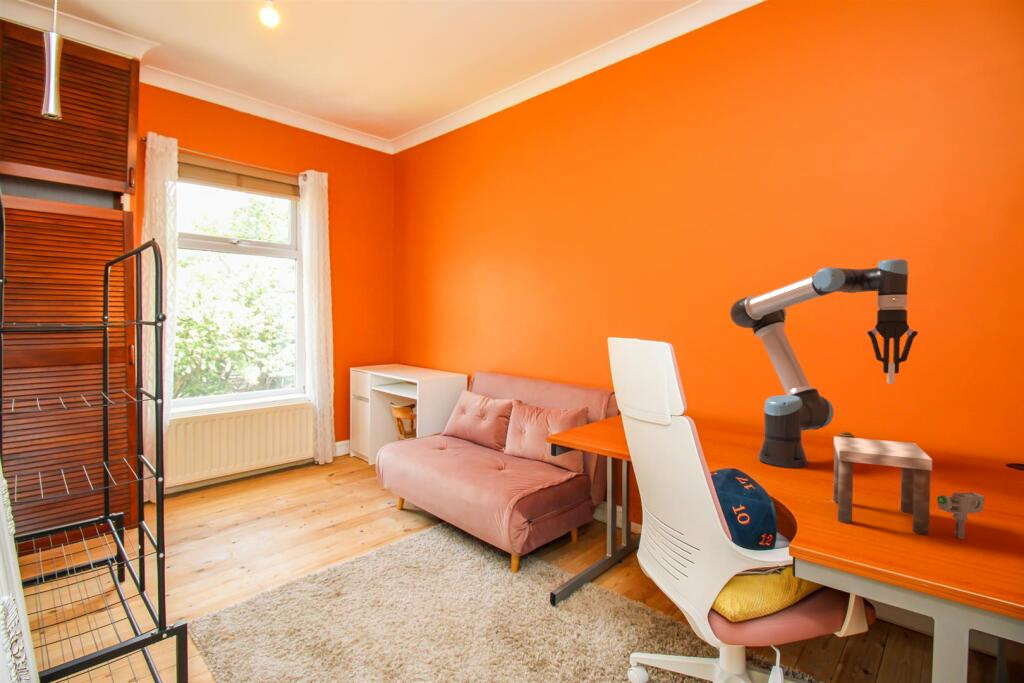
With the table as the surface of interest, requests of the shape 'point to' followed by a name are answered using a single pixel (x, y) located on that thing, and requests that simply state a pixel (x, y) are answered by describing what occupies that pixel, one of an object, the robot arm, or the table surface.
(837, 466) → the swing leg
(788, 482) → the table surface
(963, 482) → the table surface
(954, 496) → the mechanical component
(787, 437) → the robot arm
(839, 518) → the stool
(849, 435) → the ornamental finial
